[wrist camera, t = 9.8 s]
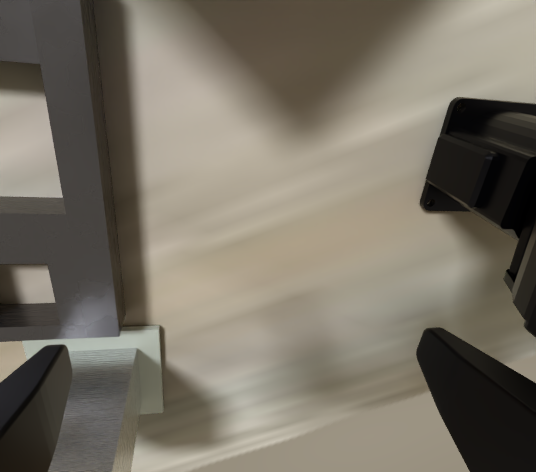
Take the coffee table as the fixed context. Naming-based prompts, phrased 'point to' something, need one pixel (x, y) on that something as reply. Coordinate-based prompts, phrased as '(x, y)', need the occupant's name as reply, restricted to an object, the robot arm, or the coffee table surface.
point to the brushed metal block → (100, 413)
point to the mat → (130, 337)
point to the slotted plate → (64, 181)
